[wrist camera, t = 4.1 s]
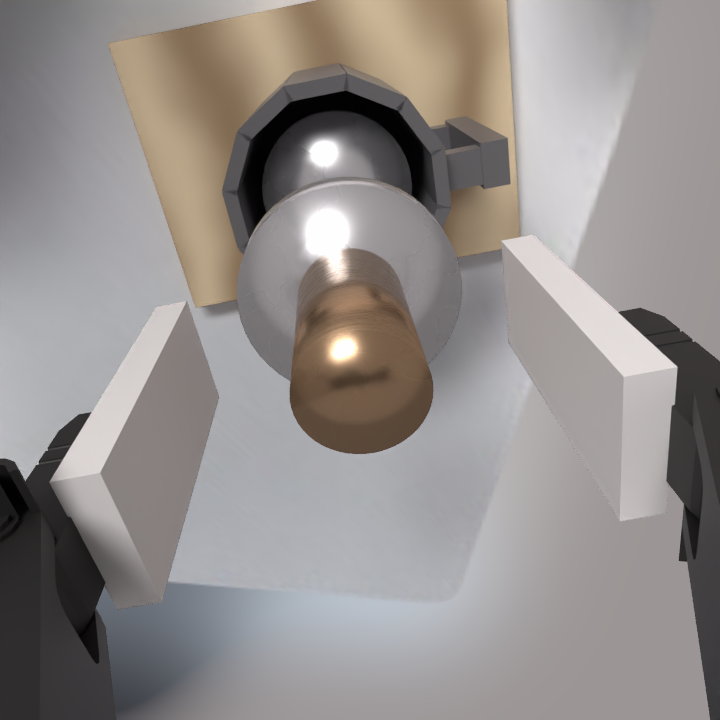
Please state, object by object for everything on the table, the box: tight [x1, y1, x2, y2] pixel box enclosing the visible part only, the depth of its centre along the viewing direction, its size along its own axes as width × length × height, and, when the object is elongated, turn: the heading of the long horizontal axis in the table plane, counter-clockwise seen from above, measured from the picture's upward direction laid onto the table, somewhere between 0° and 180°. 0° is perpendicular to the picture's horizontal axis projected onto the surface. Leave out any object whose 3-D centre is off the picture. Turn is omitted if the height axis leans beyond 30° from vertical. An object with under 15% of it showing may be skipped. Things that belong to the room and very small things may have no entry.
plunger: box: [237, 110, 462, 454], centre depth 20 cm, size 7×7×19 cm
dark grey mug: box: [222, 63, 511, 255], centre depth 32 cm, size 12×10×12 cm
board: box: [108, 0, 520, 307], centre depth 38 cm, size 22×16×1 cm
